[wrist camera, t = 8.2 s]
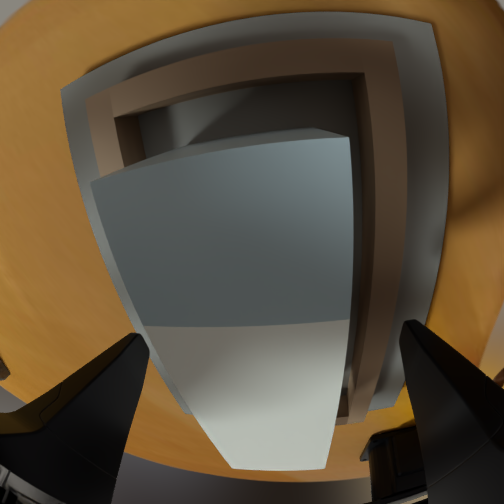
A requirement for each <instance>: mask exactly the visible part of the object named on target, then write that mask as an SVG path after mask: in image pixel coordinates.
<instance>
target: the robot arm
mask: <svg viewBox="0 0 504 504" xmlns="http://www.w3.org/2000/svg"><path fill="white" fill-rule="evenodd" d="M399 347H400V352H401V357H402V363H403V369H404V375H405V381H406V386H407V390H408V394H409V397H410V401H411V405H412V409H413V414H414V418H415V422H416V427H412V428H409V429H404V430H400V431H396V432H391V433H386V434H381V435H376V436H373V437H371V438H370V439H369V441H368V443H367V444H366V446H365V448H364V450H363V452H362V454H361V456H360V461H368V460H369V468H370V480H371V494H372V502H369V503H364V504H400V503H404V502H407V501H410V500H413V499H416V498H418V497H421V496H424V495H427V494H428V498H427V499H424V500H421V501H418V502H415V503H412V504H504V389H503V388H501V387H500V386H499V385H498V384H497V383H495V382H494V381H493V380H492V379H491V378H489V377H488V376H486V375H485V374H484V373H483V372H482V371H481V370H480V369H479V368H477V367H476V366H475V365H474V364H472V363H471V362H470V361H469V360H468V359H466V358H465V357H464V356H463V355H461V354H460V353H459V352H458V351H456V350H455V349H454V348H453V347H451V346H450V345H449V344H448V343H446V342H445V341H444V340H443V339H441V338H440V337H439V336H437V335H436V334H435V333H434V332H432V331H431V330H430V329H428V328H427V327H426V326H424V325H423V324H422V323H421V322H419V321H418V320H416V319H411V320H405V321H404V322H403V325H402V329H401V333H400V337H399ZM149 356H150V350H149V347H148V346H147V344H146V342H145V340H144V338H143V336H142V335H141V334H140V333H129V334H128V335H127V336H125V337H124V338H122V339H121V340H120V341H118V342H117V343H115V344H114V345H112V346H111V347H110V348H108V349H107V350H105V351H104V352H103V353H101V354H100V355H98V356H97V357H96V358H94V359H93V360H91V361H90V362H89V363H87V364H86V365H84V366H83V367H82V368H80V369H79V370H77V371H76V372H75V373H73V374H72V375H70V376H69V377H68V378H66V379H65V380H63V382H61V383H59V384H58V385H56V386H55V387H54V388H52V389H51V390H49V391H48V392H46V393H45V394H43V395H41V396H40V397H38V398H37V399H35V400H33V401H32V402H30V403H28V404H27V405H25V406H23V407H22V408H20V409H18V410H16V411H14V412H10V413H0V504H111V501H112V497H113V493H114V488H115V484H116V478H117V475H118V471H119V468H120V464H121V460H122V456H123V452H124V449H125V445H126V441H127V438H128V434H129V431H130V427H131V424H132V421H133V417H134V414H135V411H136V407H137V404H138V401H139V398H140V395H141V391H142V388H143V383H144V379H145V374H146V369H147V365H148V360H149Z"/></svg>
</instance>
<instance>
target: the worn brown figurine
mask: <svg viewBox="0 0 504 504" xmlns="http://www.w3.org/2000/svg"><path fill="white" fill-rule="evenodd" d="M9 375H10V372H9V371H8V369H7V368H6V367H5V365H4V364H3V362H2V361H1V360H0V380H5V379H6V378H7V377H8V376H9Z"/></svg>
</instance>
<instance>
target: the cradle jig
mask: <svg viewBox="0 0 504 504" xmlns="http://www.w3.org/2000/svg"><path fill="white" fill-rule="evenodd" d="M60 90H61V99H62V106H63V113H64V120H65V126H66V131H67V137H68V142H69V147H70V151H71V156H72V160H73V164H74V169H75V173H76V177H77V180H78V184H79V188H80V191H81V195H82V198H83V202H84V205H85V208H86V212H87V215H88V218H89V221H90V224H91V227H92V230H93V233H94V236H95V238H96V241H97V244H98V247H99V249H100V252H101V255H102V257H103V260H104V262H105V265H106V267H107V270H108V272H109V275H110V277H111V279H112V282H113V284H114V286H115V289H116V291H117V293H118V295H119V298H120V300H121V302H122V304H123V306H124V308H125V310H126V312H127V315H128V317H129V319H130V321H131V323H132V325H133V327H134V329H135V331H136V332H137V333H140V334H141V335H142V336H143V338H144V340H145V342H146V344H147V346H148V347H149V350H150V358H151V360H152V362H153V363H154V365H155V367H156V369H157V370H158V372H159V374H160V375H161V377H162V379H163V380H164V382H165V383H166V385H167V387H168V388H169V390H170V391H171V393H172V395H173V396H174V398H175V399H176V401H177V402H178V404H179V405H180V407H181V408H182V410H183V411H184V413H185V414H193V413H192V412H191V410H190V409H189V407H188V406H187V404H186V402H185V401H184V399H183V398H182V396H181V394H180V393H179V391H178V389H177V388H176V386H175V384H174V383H173V381H172V379H171V378H170V376H169V374H168V372H167V371H166V369H165V367H164V365H163V363H162V362H161V360H160V358H159V356H158V354H157V352H156V350H155V349H154V347H153V345H152V343H151V341H150V339H149V337H148V335H147V333H146V331H145V329H144V327H143V325H142V323H141V320H140V318H139V316H138V314H137V312H136V310H135V308H134V305H133V303H132V301H131V299H130V296H129V294H128V292H127V289H126V287H125V285H124V282H123V280H122V277H121V275H120V272H119V270H118V267H117V265H116V262H115V259H114V257H113V254H112V251H111V249H110V246H109V243H108V240H107V237H106V234H105V232H104V229H103V226H102V222H101V219H100V216H99V213H98V210H97V206H96V203H95V200H94V196H93V193H92V189H91V185H90V182H92V181H94V180H96V179H98V178H101V177H103V176H105V175H108V174H110V173H112V172H115V171H117V170H120V169H122V168H124V167H127V166H130V165H132V164H135V163H137V162H140V161H143V160H145V159H148V158H151V157H153V156H156V155H159V154H162V153H165V152H168V151H171V150H174V149H177V148H180V147H183V146H186V145H191V144H195V143H200V142H205V141H210V140H216V139H221V138H227V137H233V136H239V135H246V134H253V133H260V132H268V131H276V130H285V129H296V128H307V127H313V128H317V129H321V130H325V131H329V132H332V133H336V134H340V135H343V136H346V137H349V142H350V154H351V169H352V188H353V276H352V296H351V310H350V322H349V333H348V342H347V351H346V359H345V367H344V374H343V381H342V388H341V394H340V400H339V405H338V411H337V416H336V421H335V425H344V424H352V423H359V422H364V420H365V417H366V414H367V412H368V411H371V410H377V409H383V408H388V407H393V406H394V404H395V402H396V400H397V398H398V396H399V393H400V391H401V389H402V386H403V384H404V382H405V375H404V369H403V363H402V357H401V352H400V347H399V337H400V333H401V329H402V325H403V322H404V321H405V320H411V319H416V320H418V321H419V322H421V323H422V324H423V325H425V322H426V318H427V315H428V311H429V308H430V304H431V300H432V296H433V292H434V287H435V283H436V278H437V273H438V268H439V263H440V257H441V251H442V245H443V238H444V231H445V223H446V213H447V202H448V185H449V132H448V117H447V106H446V97H445V89H444V82H443V75H442V70H441V64H440V59H439V54H438V50H437V45H436V41H435V37H434V33H433V29H432V26H431V24H430V23H426V22H421V21H416V20H411V19H406V18H400V17H393V16H386V15H378V14H368V13H354V12H299V13H285V14H275V15H266V16H259V17H252V18H246V19H240V20H235V21H230V22H225V23H220V24H216V25H212V26H207V27H204V28H200V29H196V30H192V31H189V32H186V33H182V34H179V35H176V36H173V37H170V38H167V39H164V40H161V41H158V42H155V43H153V44H150V45H148V46H145V47H142V48H140V49H137V50H135V51H133V52H130V53H128V54H126V55H124V56H121V57H119V58H117V59H115V60H113V61H111V62H109V63H107V64H105V65H103V66H101V67H99V68H97V69H95V70H93V71H91V72H89V73H87V74H86V75H84V76H82V77H80V78H79V79H77V80H75V81H73V82H72V83H70V84H68V85H67V86H65V87H64V88H62V89H60Z"/></svg>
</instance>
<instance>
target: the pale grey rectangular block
mask: <svg viewBox="0 0 504 504" xmlns="http://www.w3.org/2000/svg"><path fill="white" fill-rule="evenodd" d="M90 185H91V189H92V193H93V196H94V200H95V203H96V206H97V210H98V213H99V216H100V219H101V222H102V226H103V229H104V232H105V234H106V237H107V240H108V243H109V246H110V249H111V251H112V254H113V257H114V259H115V262H116V265H117V267H118V270H119V272H120V275H121V277H122V280H123V282H124V285H125V287H126V289H127V292H128V294H129V296H130V299H131V301H132V303H133V305H134V308H135V310H136V312H137V314H138V316H139V318H140V320H141V323H142V325H143V327H144V329H145V331H146V333H147V335H148V337H149V339H150V341H151V343H152V345H153V347H154V349H155V350H156V352H157V354H158V356H159V358H160V360H161V362H162V363H163V365H164V367H165V369H166V371H167V372H168V374H169V376H170V378H171V379H172V381H173V383H174V384H175V386H176V388H177V389H178V391H179V393H180V394H181V396H182V398H183V399H184V401H185V402H186V404H187V406H188V407H189V409H190V410H191V412H192V413H193V415H194V416H195V418H196V419H197V421H198V422H199V424H200V425H201V427H202V428H203V430H204V431H205V433H206V434H207V435H208V437H209V438H210V440H211V441H212V442H213V444H214V445H215V447H216V448H217V449H218V451H219V452H220V453H221V455H222V456H223V457H224V459H225V460H226V461H227V462H228V464H229V465H230V466H231V467H232V468H234V469H248V470H274V471H288V470H314V469H325V465H326V461H327V457H328V453H329V449H330V445H331V440H332V436H333V431H334V426H335V421H336V416H337V411H338V405H339V400H340V394H341V388H342V381H343V374H344V367H345V359H346V351H347V342H348V333H349V322H350V310H351V296H352V276H353V188H352V169H351V154H350V142H349V137H346V136H343V135H340V134H336V133H332V132H329V131H325V130H321V129H317V128H313V127H307V128H296V129H285V130H276V131H268V132H260V133H253V134H246V135H239V136H233V137H227V138H221V139H216V140H210V141H205V142H200V143H195V144H191V145H186V146H183V147H180V148H177V149H174V150H171V151H168V152H165V153H162V154H159V155H156V156H153V157H151V158H148V159H145V160H143V161H140V162H137V163H135V164H132V165H130V166H127V167H124V168H122V169H120V170H117V171H115V172H112V173H110V174H108V175H105V176H103V177H101V178H98V179H96V180H94V181H92V182H90Z"/></svg>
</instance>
